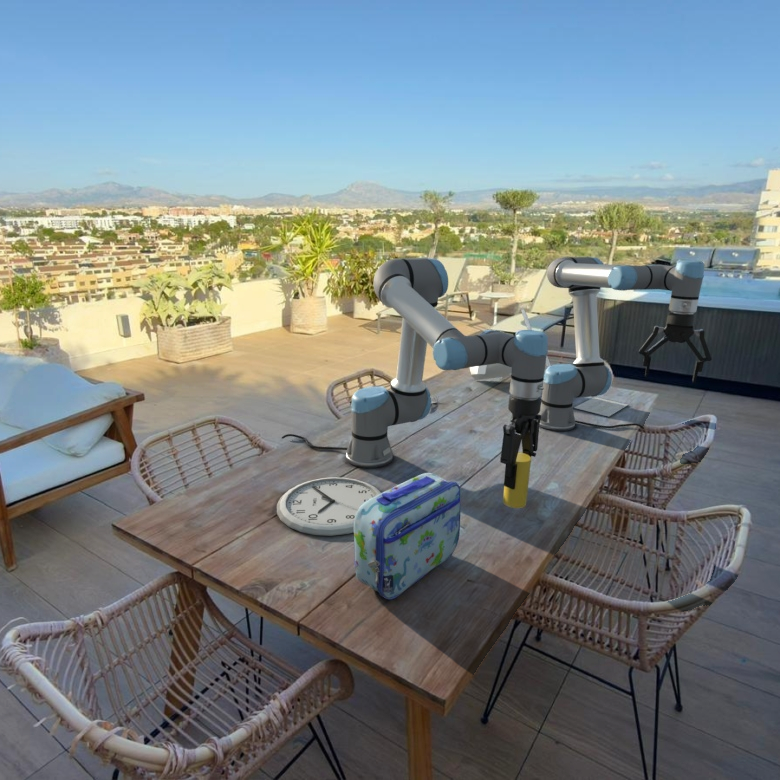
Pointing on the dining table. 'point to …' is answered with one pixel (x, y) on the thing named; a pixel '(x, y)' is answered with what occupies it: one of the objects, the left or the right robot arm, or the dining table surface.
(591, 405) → the invitation card
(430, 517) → the lunch box
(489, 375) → the white plastic object
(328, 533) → the wall clock
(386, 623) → the dining table surface
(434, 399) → the fork
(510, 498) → the can
